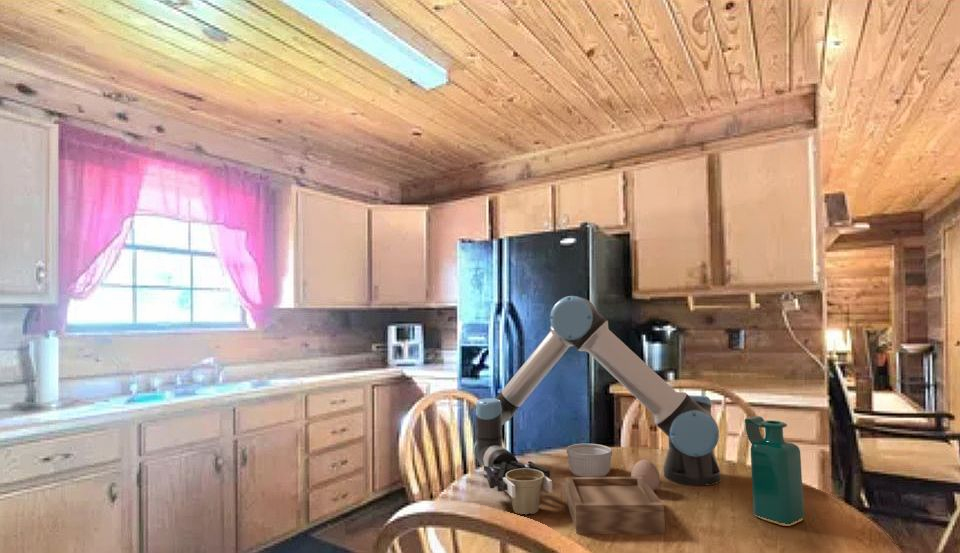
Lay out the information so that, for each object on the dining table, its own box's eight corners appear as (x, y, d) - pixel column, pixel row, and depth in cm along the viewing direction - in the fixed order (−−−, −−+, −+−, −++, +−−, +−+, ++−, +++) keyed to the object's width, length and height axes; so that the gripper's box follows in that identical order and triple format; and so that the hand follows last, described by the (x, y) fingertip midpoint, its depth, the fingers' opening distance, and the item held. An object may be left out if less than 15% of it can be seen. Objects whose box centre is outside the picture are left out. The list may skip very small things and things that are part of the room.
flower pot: (543, 519, 123) (542, 481, 124) (503, 517, 125) (502, 479, 126) (546, 504, 132) (545, 469, 133) (509, 502, 134) (508, 467, 135)
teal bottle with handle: (807, 520, 120) (802, 421, 121) (787, 529, 115) (782, 426, 116) (765, 507, 128) (760, 414, 129) (744, 515, 123) (740, 419, 125)
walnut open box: (642, 502, 133) (641, 476, 134) (665, 535, 114) (663, 504, 115) (566, 503, 134) (565, 477, 134) (576, 535, 115) (575, 505, 116)
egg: (656, 499, 135) (654, 465, 135) (628, 494, 139) (627, 461, 139) (663, 490, 141) (661, 458, 141) (636, 485, 145) (635, 454, 145)
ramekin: (605, 465, 164) (605, 442, 164) (618, 479, 151) (617, 454, 151) (563, 466, 163) (562, 443, 164) (572, 480, 150) (571, 455, 151)
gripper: (536, 472, 149) (574, 499, 128) (463, 481, 143) (489, 511, 121) (536, 445, 150) (573, 467, 128) (462, 452, 143) (488, 478, 122)
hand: (532, 489), depth 125 cm, fingers closed on flower pot, 9 cm apart
